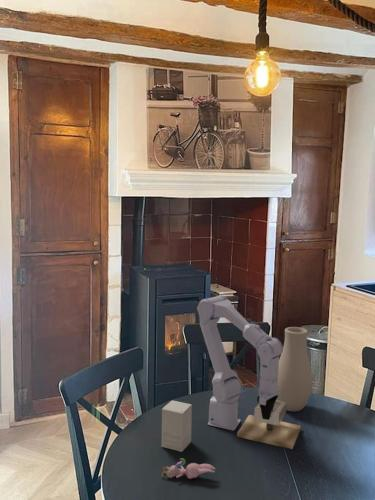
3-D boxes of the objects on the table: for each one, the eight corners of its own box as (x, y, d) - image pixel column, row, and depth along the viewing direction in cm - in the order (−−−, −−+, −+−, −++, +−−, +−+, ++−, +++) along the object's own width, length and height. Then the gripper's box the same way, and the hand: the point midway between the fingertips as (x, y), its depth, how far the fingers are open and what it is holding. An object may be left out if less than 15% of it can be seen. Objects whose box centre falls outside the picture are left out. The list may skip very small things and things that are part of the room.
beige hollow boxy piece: (253, 420, 164) (254, 408, 164) (262, 408, 175) (263, 397, 175) (278, 425, 161) (279, 413, 161) (286, 413, 172) (286, 401, 172)
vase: (272, 399, 196) (276, 323, 192) (308, 402, 194) (313, 325, 190) (273, 415, 183) (277, 334, 178) (312, 418, 181) (317, 336, 177)
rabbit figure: (161, 486, 141) (215, 482, 139) (158, 465, 140) (212, 462, 138) (165, 473, 147) (216, 469, 145) (162, 453, 146) (213, 450, 145)
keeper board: (237, 436, 166) (237, 420, 166) (249, 418, 179) (249, 403, 178) (292, 449, 160) (293, 432, 159) (300, 429, 172) (301, 414, 172)
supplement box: (191, 441, 162) (192, 404, 161) (181, 452, 156) (182, 413, 154) (171, 436, 165) (172, 399, 164) (160, 446, 159) (161, 408, 157)
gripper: (276, 387, 153) (273, 430, 155) (286, 371, 167) (283, 410, 169) (253, 383, 156) (251, 425, 158) (265, 367, 169) (263, 406, 171)
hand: (266, 417), depth 163 cm, fingers closed on beige hollow boxy piece, 2 cm apart
